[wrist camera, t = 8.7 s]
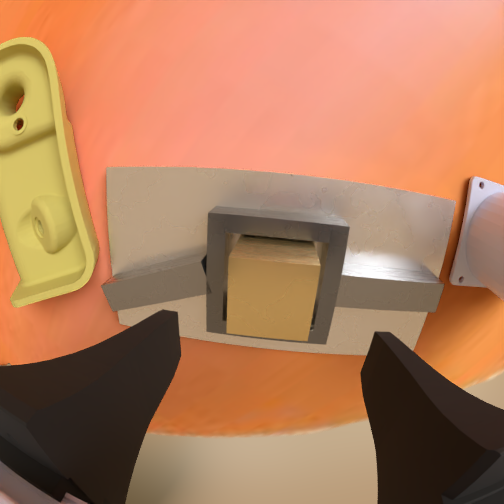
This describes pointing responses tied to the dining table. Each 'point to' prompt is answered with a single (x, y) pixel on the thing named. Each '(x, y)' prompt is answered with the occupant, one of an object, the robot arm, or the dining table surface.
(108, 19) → the dining table surface
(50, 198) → the plastic component
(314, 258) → the tan small block
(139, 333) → the robot arm
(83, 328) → the dining table surface
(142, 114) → the dining table surface
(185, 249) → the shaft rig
